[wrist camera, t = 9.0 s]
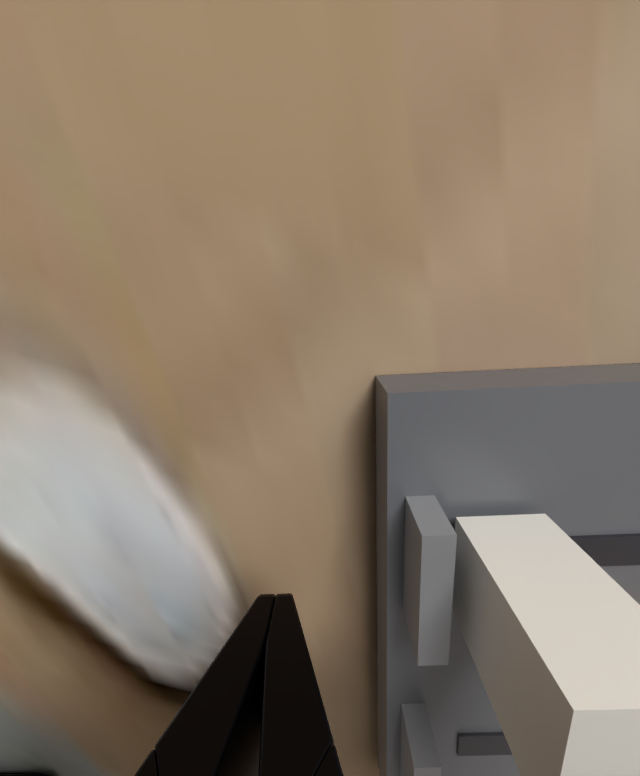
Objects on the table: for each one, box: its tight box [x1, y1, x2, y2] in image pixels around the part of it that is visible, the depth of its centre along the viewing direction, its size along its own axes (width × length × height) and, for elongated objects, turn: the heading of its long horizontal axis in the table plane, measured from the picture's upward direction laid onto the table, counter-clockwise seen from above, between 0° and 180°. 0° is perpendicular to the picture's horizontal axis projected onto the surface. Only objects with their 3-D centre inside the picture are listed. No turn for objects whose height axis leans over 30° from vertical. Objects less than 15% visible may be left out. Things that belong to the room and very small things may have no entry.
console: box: [376, 363, 640, 776], centre depth 11 cm, size 18×15×4 cm
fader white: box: [452, 514, 640, 776], centre depth 7 cm, size 3×2×4 cm
